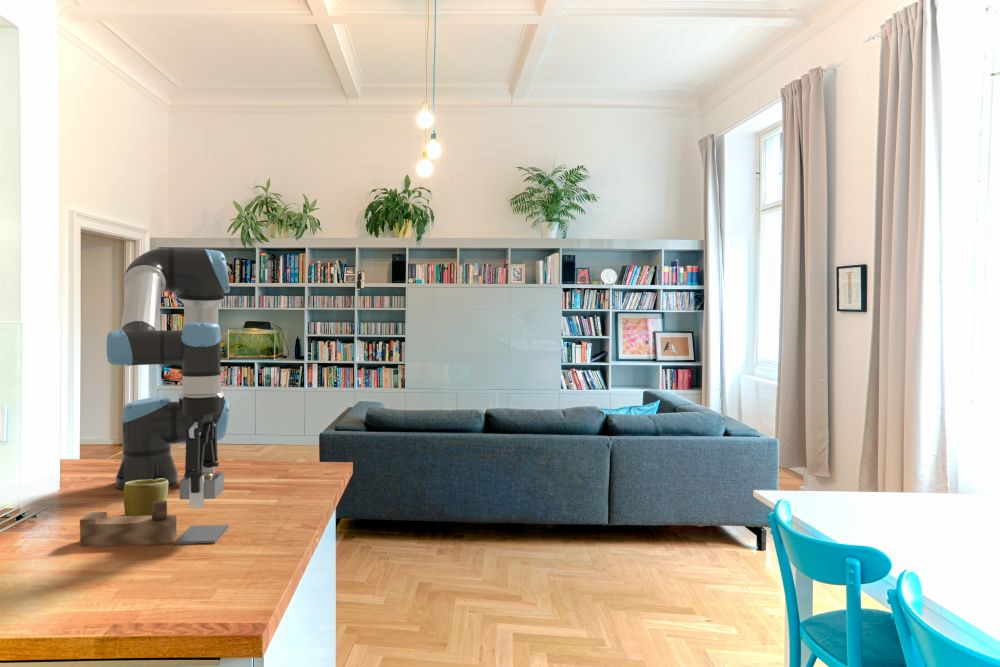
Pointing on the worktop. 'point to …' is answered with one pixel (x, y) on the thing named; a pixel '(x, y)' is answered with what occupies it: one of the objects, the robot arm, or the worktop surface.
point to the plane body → (128, 528)
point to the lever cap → (205, 485)
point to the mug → (143, 496)
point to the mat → (201, 534)
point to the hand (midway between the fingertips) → (202, 501)
